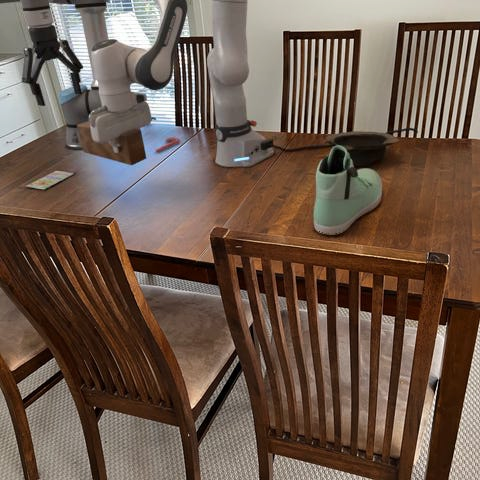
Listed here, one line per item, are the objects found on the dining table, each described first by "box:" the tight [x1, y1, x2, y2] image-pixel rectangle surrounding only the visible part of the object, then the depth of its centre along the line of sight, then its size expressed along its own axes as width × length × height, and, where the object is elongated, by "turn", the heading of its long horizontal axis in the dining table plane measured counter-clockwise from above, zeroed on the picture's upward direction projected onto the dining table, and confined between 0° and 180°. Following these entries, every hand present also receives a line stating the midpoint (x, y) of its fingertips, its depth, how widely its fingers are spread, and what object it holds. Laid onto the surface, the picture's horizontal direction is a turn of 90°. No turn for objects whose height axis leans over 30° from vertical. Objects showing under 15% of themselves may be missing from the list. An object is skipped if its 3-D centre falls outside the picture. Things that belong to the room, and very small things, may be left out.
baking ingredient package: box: [26, 170, 75, 190], centre depth 172 cm, size 9×1×15 cm
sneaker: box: [313, 146, 383, 236], centre depth 133 cm, size 14×35×20 cm, turn 152°
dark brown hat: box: [324, 130, 399, 167], centre depth 168 cm, size 25×25×9 cm
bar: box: [77, 121, 147, 166], centre depth 148 cm, size 23×6×9 cm, turn 52°
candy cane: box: [155, 136, 180, 153], centre depth 194 cm, size 6×15×2 cm, turn 145°
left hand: (60, 99), depth 150 cm, fingers open, 13 cm apart
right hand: (127, 147), depth 144 cm, fingers closed on bar, 6 cm apart
